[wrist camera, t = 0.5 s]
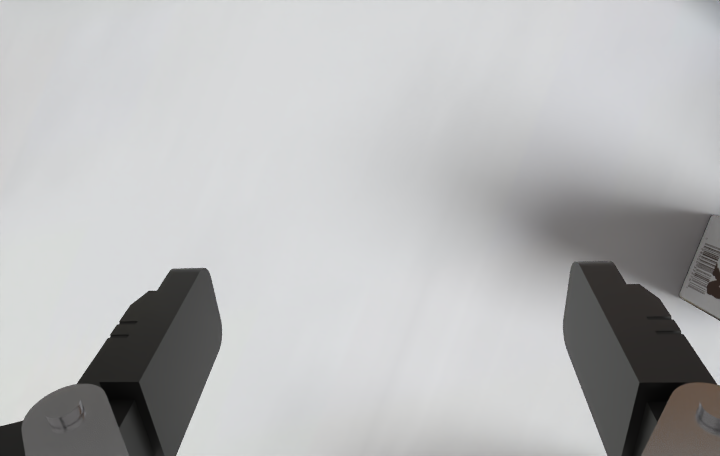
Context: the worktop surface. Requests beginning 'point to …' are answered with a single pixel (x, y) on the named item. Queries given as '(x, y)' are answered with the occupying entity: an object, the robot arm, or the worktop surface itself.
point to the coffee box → (705, 272)
